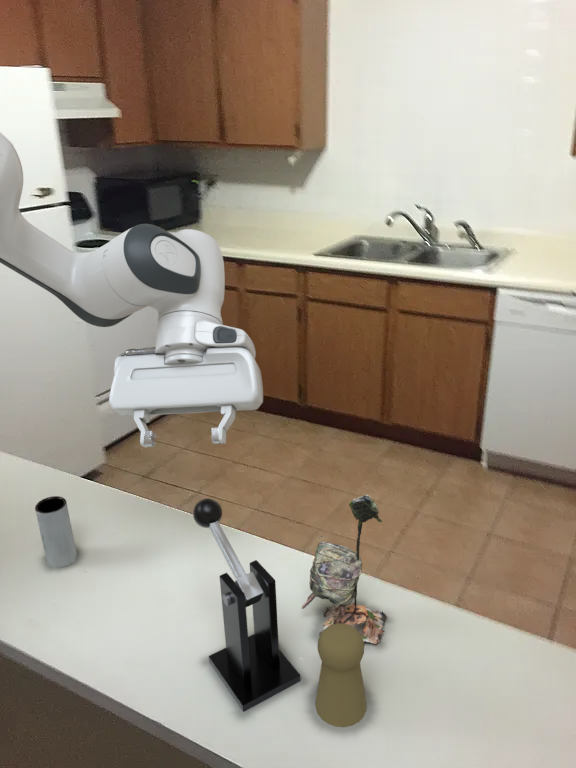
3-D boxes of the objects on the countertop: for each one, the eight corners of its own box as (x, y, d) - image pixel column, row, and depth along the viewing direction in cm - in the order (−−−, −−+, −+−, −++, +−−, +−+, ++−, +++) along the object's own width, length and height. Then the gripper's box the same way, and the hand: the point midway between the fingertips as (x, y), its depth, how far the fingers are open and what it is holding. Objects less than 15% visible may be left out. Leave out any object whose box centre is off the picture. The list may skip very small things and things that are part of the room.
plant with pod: (318, 594, 95) (316, 474, 87) (394, 618, 91) (399, 493, 82) (293, 632, 89) (288, 506, 81) (373, 661, 84) (376, 530, 76)
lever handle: (186, 513, 85) (190, 498, 82) (212, 504, 86) (216, 489, 84) (237, 613, 77) (242, 600, 75) (263, 600, 79) (270, 587, 77)
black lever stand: (209, 662, 85) (198, 569, 79) (263, 636, 88) (257, 545, 82) (243, 713, 78) (235, 615, 72) (300, 682, 81) (297, 586, 75)
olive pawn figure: (370, 690, 80) (372, 619, 75) (362, 733, 75) (363, 660, 70) (321, 680, 82) (320, 610, 77) (309, 722, 76) (307, 650, 72)
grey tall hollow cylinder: (83, 555, 105) (72, 500, 101) (61, 572, 102) (49, 516, 97) (63, 547, 107) (52, 492, 103) (40, 563, 104) (28, 507, 99)
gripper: (106, 340, 89) (95, 441, 84) (256, 330, 85) (253, 434, 80) (126, 358, 95) (116, 453, 90) (267, 349, 91) (265, 447, 86)
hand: (182, 444), depth 85 cm, fingers open, 8 cm apart
